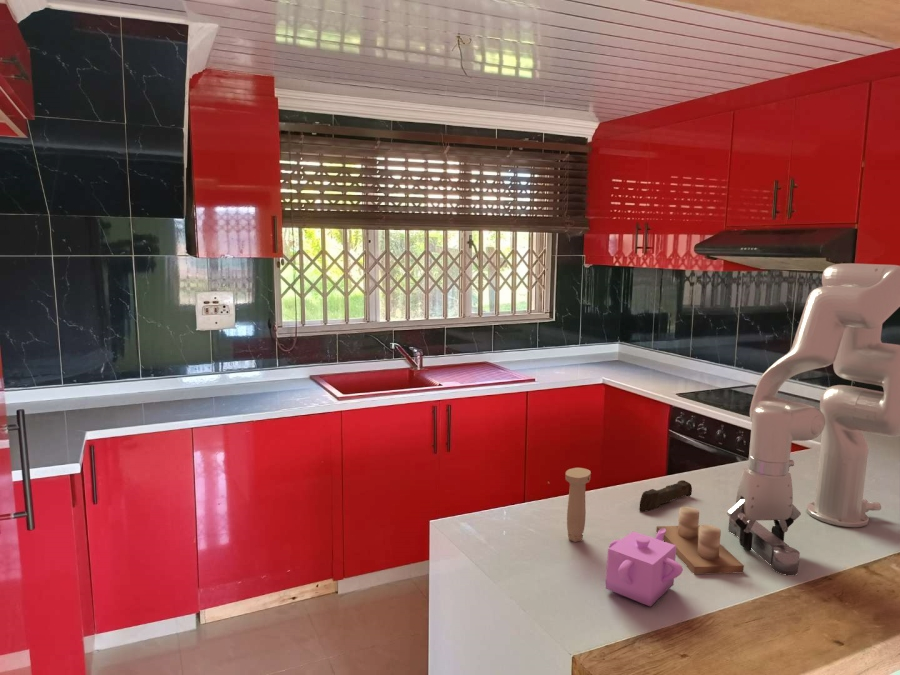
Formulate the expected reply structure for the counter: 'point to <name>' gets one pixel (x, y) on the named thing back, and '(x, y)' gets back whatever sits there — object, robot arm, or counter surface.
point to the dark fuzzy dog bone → (664, 495)
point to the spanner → (770, 548)
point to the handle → (576, 502)
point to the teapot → (642, 567)
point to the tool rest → (700, 545)
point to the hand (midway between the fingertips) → (760, 546)
